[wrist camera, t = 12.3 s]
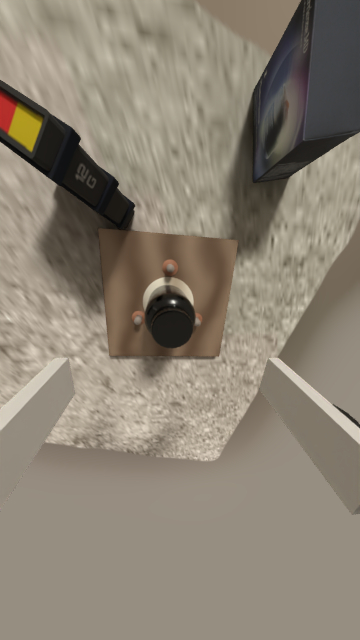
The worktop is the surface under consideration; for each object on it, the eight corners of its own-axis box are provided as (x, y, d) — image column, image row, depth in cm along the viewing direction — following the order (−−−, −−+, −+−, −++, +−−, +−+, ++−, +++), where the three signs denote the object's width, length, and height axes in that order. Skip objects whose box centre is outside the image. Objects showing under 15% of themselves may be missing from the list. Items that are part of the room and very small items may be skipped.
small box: (249, 88, 22) (318, -46, 12) (296, 82, 22) (400, -56, 13) (250, 184, 26) (302, 140, 16) (290, 178, 26) (366, 130, 16)
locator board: (111, 351, 34) (106, 361, 30) (101, 229, 26) (92, 225, 23) (216, 352, 36) (222, 361, 33) (235, 241, 29) (244, 238, 25)
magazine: (141, 243, 26) (34, 167, 11) (83, 201, 28) (-69, 91, 14) (154, 221, 25) (56, 109, 11) (93, 179, 27) (-57, 36, 13)
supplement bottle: (176, 326, 31) (184, 365, 20) (142, 311, 30) (129, 344, 18) (194, 294, 29) (213, 316, 18) (158, 276, 28) (156, 288, 17)
